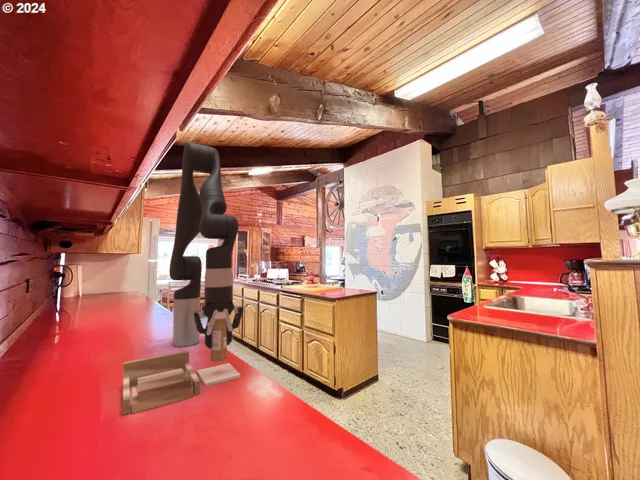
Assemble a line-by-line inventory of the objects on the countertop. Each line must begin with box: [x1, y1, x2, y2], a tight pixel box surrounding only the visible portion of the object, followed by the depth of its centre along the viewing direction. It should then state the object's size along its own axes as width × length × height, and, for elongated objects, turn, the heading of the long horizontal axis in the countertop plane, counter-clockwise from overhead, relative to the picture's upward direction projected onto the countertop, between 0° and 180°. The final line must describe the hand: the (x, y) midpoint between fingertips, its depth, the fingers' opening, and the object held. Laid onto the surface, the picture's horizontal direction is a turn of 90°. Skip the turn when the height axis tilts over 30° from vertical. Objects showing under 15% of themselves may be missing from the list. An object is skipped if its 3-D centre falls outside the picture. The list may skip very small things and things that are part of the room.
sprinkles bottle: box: [209, 311, 228, 363], centre depth 78 cm, size 5×5×14 cm
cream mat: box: [196, 362, 241, 388], centre depth 77 cm, size 10×9×1 cm
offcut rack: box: [122, 349, 201, 416], centre depth 69 cm, size 16×15×6 cm
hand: (218, 345), depth 77 cm, fingers closed on sprinkles bottle, 4 cm apart
